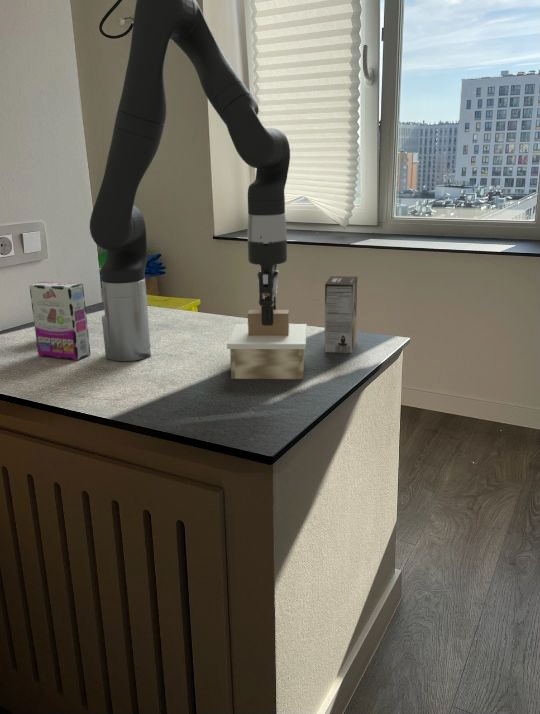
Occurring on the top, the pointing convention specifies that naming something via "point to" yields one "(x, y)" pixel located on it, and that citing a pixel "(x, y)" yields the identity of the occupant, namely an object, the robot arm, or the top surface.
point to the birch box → (267, 363)
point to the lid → (268, 333)
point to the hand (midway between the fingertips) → (269, 319)
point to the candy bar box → (60, 320)
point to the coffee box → (340, 314)
